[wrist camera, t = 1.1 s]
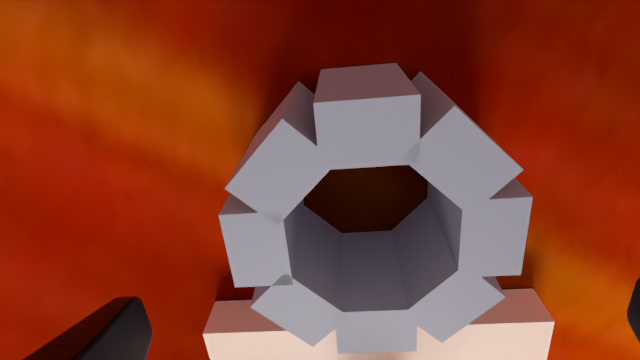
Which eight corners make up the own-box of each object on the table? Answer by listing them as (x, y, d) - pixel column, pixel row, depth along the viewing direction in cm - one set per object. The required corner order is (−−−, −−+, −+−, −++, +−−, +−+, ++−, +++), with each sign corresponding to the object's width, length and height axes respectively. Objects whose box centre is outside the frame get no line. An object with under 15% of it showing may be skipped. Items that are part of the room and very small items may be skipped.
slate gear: (468, 262, 13) (509, 348, 10) (271, 271, 14) (250, 356, 11) (485, 55, 10) (550, 84, 7) (236, 76, 11) (194, 112, 8)
